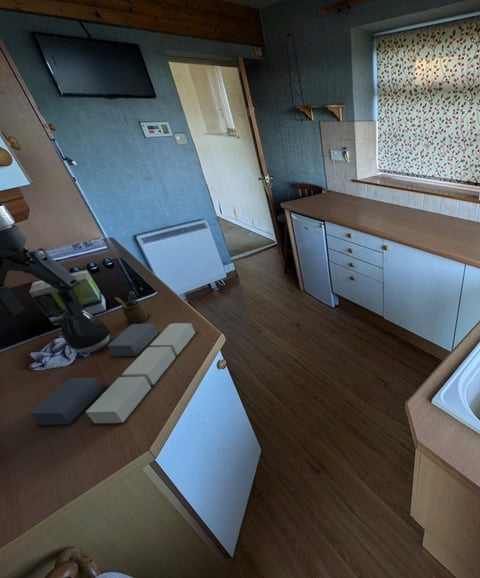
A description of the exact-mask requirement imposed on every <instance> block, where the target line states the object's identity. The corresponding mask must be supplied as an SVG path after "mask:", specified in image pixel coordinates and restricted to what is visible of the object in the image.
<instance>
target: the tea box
mask: <svg viewBox="0 0 480 578" xmlns="http://www.w3.org/2000/svg"><path fill="white" fill-rule="evenodd" d="M69 273H70V274H71V275H73V276H74V277H75V278H76V279H77V280H79V281H80V284H79V285H77V286H75V287H74V290H75V292H76V294H77V295H78V297H79V299H78V300H79V302H80V303H81V305H82V307H83V308H84V310H86V311H88V312H90V313H91V314H93V315H94V314H95V315H96V314H98V313H101V312H105V311H107V307H106V306H107V305H106V299H105V297H104V295H103V293H102V292H101V290H100V289H99V287H98V285H97V284H96V282H95V281H94V279H93V277H92V276H91V274H90V273H89V271H88V270H87V269H83V270H79V271H75V272H69ZM61 285H62V284H61ZM62 286H63V285H62ZM58 291H59V290H57V289H56V288H54V287H52V286H51V285H49V284H47V283H45V282H44V281H42V280H40V279H39V280H36V281H33V282H32V284H31V287H30V290H29V292H28V293H29V295H30V296H31V297H32V298H33V300H34V302H35V303H36V304H37V306H38V307H39V308H40V309H41V311H42V312H43V313H44V315H45V316H46V317H47V318H48V320H49V321H50V322H51V321H53V320H57V319H61V317H62V314H63V313H64V312H65V311H66V310H68V309H67V308H66V306H65V305H64V303H63V302H62V300H61V299H60V297H59V296H58V294H57V292H58ZM52 325H53V326H57V325H61V323H58V324H52Z"/></svg>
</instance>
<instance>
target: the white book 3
mask: <svg viewBox="0 0 480 578" xmlns="http://www.w3.org/2000/svg"><path fill="white" fill-rule="evenodd" d="M195 335H196V331H195V329H194V326H193V324H192V323H191V322H189V323H188V322H185V323H183V322H179V323H172V322H171V323H170V324H169V325H167V327H166V328H165V329H164V330H163V331H162V332H160V334H159V335H158V336H156V337H155V339H154V340H153V341H151V343H149V347H171V349H172V351H173V353H174V355H175V356H179V355H180V353H181V352H182V351H183V350H184V348H185V347H186V346H187V345H188V343H189V342H190V341H191V339H192V338H193V337H194V336H195Z"/></svg>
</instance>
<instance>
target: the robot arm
mask: <svg viewBox="0 0 480 578" xmlns="http://www.w3.org/2000/svg"><path fill="white" fill-rule="evenodd" d="M15 222H16V221H15V219H14V217H12V215H11V213H10V212H9V210H8V209H7V207H6V206H5V204H4V203H3V202H2V200H0V304H1V306H2V307H3V308H4V309H5V311H6V313H8V315H9V316H10V317H15V316H17V315H19V314H20V313H22V312H24V311H26V308H25V307H24V306H23V304H22V303H21V302H20V300H19V299H18V297H17V296H16V295H15V293H14V292H13V291H12V289H11V288H10V286H7V284H5V282H6V279H7V276H8V272H11V271H15V272H23V273H24V274H30V275H32V276H33V277H35V278H37V279H39V281H40V280H42V281H44V282H45V283H47V284H49V285H51V286H52V287H54V288H56V289H57V290H59V291H58V292H57V294H58V296H59V297H60V299H61V300H62V302H63V303H64V305H65V306H66V308H67V309H68V311H69V312H70V314H71V316H75V315H76V314H78V313H79V312H81V311H82V310H83V309H84V308H83V307H82V305H81V303H80V302H79V300H78V299H79V297H78V295H77V294H76V292H75V290H74V287H75V286H77V285H79V284H80V281H79V280H77V279H76V278H75V277H74V276H73V275H71V274H70V273H71V272H69V271H68V270H67V269H66V268H64V267H63V266H62V265H60V263H58V262H57V261H56V260H55V259H54V258H53V257H51V256H50V254H49V253H48V252H47V251H46V249H44V248H43V247H40V248H37V249H35V250H30V249H28V248H27V247H26V242H27V238H26V237H25V235H24V234H23V232H22V231H21V229H20V228H19V226H17V225H15ZM61 284H62V285H63V286H62V285H61Z"/></svg>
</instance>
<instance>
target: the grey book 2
mask: <svg viewBox="0 0 480 578" xmlns="http://www.w3.org/2000/svg"><path fill="white" fill-rule="evenodd" d="M158 334H159V333H158V331H157V329H156V327H155V325H154V323H135V324H132V323H131V325H129V326H128V327H126V329H125V330H123V331H122V332H121V333H120V334H119V335H117V337H115V338H114V339H113V340H112V341H111V342H110V343H108V344H107V348H108V349H109V350H110V352H111V354H112V355H113V356H114V357H137V356H139V354H140V353H142V352H143V350H144V349H145V347H146V346H148V345H149V344H150V342H152V340H153V339H154V338H156V337H157V335H158Z"/></svg>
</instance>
